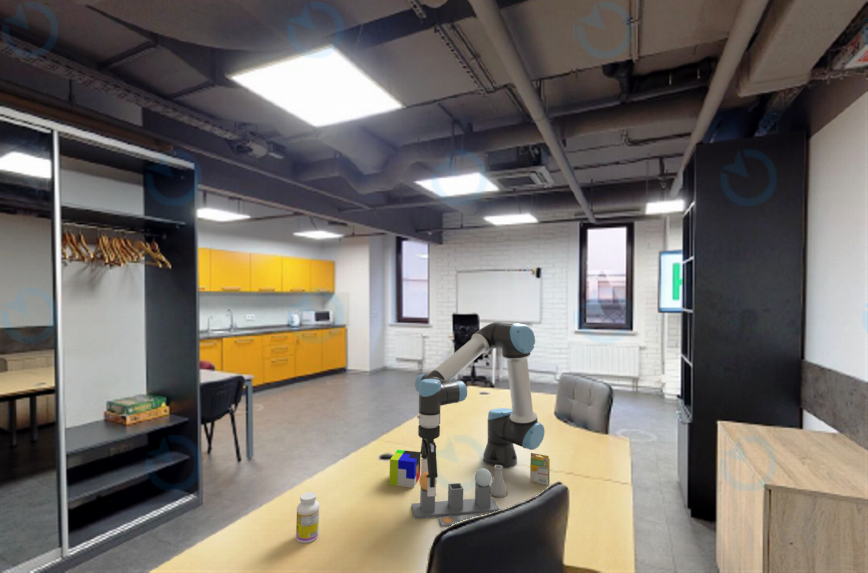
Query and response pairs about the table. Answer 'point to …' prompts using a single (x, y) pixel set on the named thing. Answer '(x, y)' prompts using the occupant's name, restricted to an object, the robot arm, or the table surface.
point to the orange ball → (424, 481)
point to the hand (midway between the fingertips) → (427, 486)
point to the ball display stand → (455, 503)
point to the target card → (454, 519)
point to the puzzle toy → (405, 468)
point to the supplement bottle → (307, 518)
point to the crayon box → (539, 468)
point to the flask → (498, 483)
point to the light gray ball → (483, 477)
